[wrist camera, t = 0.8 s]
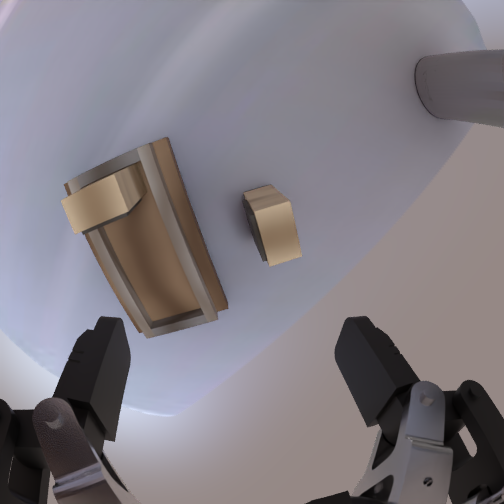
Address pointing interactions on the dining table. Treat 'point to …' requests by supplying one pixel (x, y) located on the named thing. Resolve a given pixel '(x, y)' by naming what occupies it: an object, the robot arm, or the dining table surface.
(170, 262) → the rail base
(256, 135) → the dining table surface
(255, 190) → the maple finger
